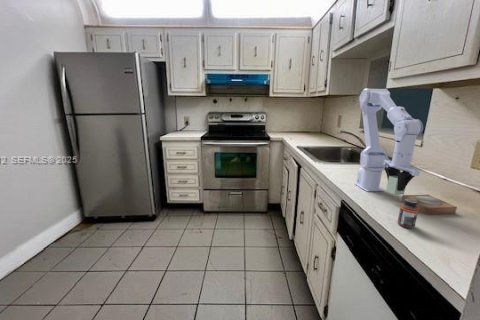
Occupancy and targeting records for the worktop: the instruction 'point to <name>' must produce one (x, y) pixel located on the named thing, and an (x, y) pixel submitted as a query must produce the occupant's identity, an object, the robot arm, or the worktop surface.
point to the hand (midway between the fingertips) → (395, 188)
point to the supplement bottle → (408, 213)
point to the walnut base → (431, 204)
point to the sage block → (393, 186)
